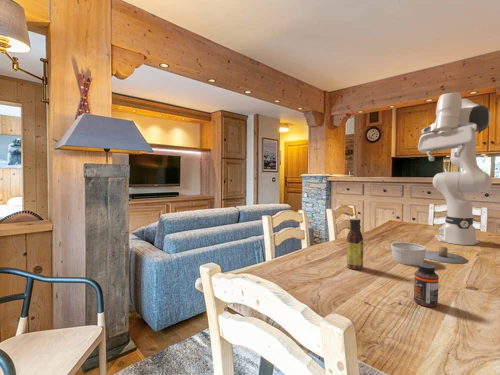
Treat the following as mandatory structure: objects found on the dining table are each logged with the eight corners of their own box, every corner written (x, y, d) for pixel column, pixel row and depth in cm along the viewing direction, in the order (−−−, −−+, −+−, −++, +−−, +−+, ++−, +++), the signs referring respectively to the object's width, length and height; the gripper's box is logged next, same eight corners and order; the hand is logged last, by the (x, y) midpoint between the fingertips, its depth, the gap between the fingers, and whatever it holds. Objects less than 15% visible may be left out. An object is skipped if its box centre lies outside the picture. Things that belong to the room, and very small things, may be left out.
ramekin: (413, 268, 109) (413, 251, 109) (383, 259, 121) (384, 244, 121) (432, 263, 116) (432, 247, 115) (402, 255, 127) (403, 240, 127)
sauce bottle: (364, 270, 107) (365, 220, 106) (347, 269, 108) (348, 220, 107) (361, 265, 113) (362, 218, 113) (345, 264, 115) (346, 217, 114)
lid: (415, 252, 134) (416, 242, 134) (455, 254, 130) (456, 244, 129) (428, 262, 118) (428, 251, 117) (475, 266, 113) (475, 254, 113)
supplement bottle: (409, 298, 83) (410, 262, 82) (427, 298, 83) (428, 261, 83) (423, 308, 77) (424, 269, 76) (442, 307, 77) (444, 268, 77)
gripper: (480, 124, 106) (478, 157, 103) (425, 136, 123) (422, 165, 121) (473, 117, 103) (470, 151, 100) (417, 130, 121) (414, 159, 118)
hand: (443, 158), depth 110 cm, fingers open, 8 cm apart
